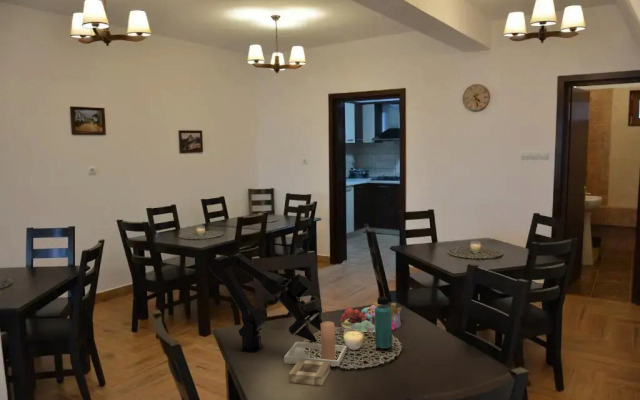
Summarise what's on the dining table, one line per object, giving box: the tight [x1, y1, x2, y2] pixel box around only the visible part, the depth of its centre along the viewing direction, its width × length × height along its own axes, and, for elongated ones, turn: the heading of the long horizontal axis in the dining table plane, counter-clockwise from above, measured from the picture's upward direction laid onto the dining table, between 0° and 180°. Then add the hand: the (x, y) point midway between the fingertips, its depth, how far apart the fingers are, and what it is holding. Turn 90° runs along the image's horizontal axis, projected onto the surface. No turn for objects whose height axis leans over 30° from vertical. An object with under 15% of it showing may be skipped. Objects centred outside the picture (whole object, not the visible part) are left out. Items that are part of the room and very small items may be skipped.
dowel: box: [320, 320, 336, 360], centre depth 183 cm, size 5×5×13 cm
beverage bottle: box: [374, 296, 393, 349], centre depth 192 cm, size 6×7×20 cm
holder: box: [288, 360, 331, 387], centre depth 171 cm, size 11×11×3 cm
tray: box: [283, 341, 348, 367], centre depth 186 cm, size 20×14×2 cm
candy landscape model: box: [340, 301, 402, 333], centre depth 218 cm, size 25×24×9 cm
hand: (321, 337), depth 184 cm, fingers open, 9 cm apart
